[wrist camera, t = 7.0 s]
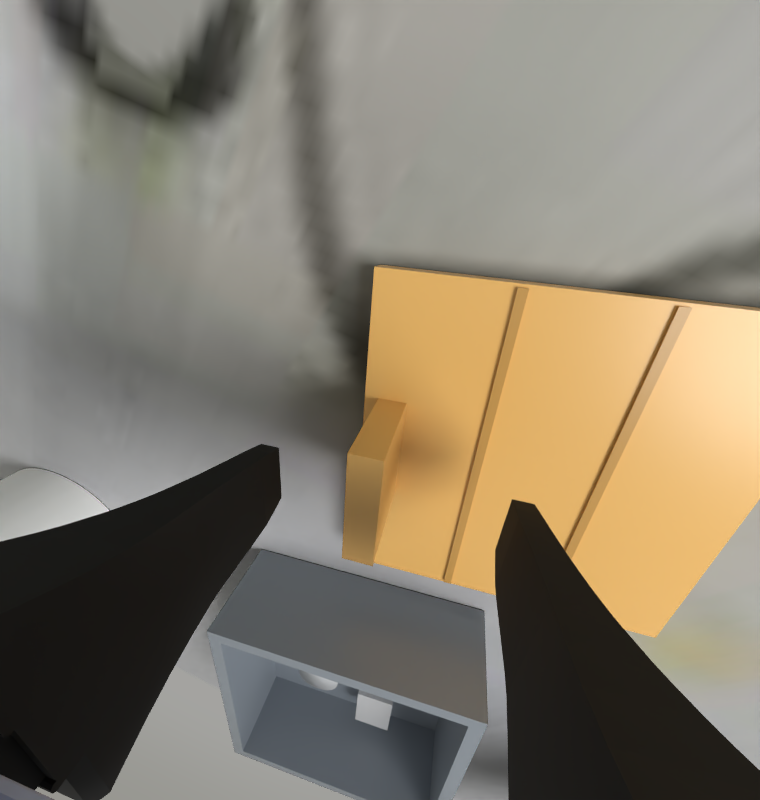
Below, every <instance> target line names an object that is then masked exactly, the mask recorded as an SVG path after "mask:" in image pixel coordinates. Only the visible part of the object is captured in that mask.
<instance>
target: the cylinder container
mask: <svg viewBox="0 0 760 800" xmlns="http://www.w3.org/2000/svg"><path fill="white" fill-rule="evenodd" d="M108 511H109V510H108V509H107V507H106V506H105V505H104V504H103V503H101V502H100V501H99V500H98V499H97V498H96V497H95V496H93V495H92V494H91V493H90V492H88V491H87V490H85V489H84V488H83V487H81V486H80V485H78V484H76V483H75V482H73V481H71V480H69V479H67V478H66V477H64V476H61V475H59V474H56V473H54V472H51V471H47V470H43V469H38V468H27V469H22V470H19V471H17V472H16V473H14V474H12V475H10V476H8V477H6V478H4V479H2V480H0V541H4V540H9V539H13V538H17V537H21V536H25V535H29V534H33V533H37V532H41V531H44V530H48V529H52V528H55V527H59V526H63V525H66V524H69V523H72V522H76V521H79V520H82V519H85V518H88V517H92V516H95V515H98V514H101V513H104V512H108Z"/></svg>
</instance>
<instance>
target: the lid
mask: <svg viewBox="0 0 760 800" xmlns="http://www.w3.org/2000/svg"><path fill="white" fill-rule="evenodd" d="M512 499H514V500H518V501H523V502H527V503H532V504H535V505H536V507H537V508H538V510H539V511H540V513H541V515H542V516H543V518H544V519H545V521H546V522H547V524H548V525H549V527H550V529H551V530H552V532H553V533H554V535H555V536H556V538H557V539H558V541H559V542H560V544H561V545H562V547H563V548H564V550H565V551H566V553H567V554H568V556H569V557H570V559H571V560H572V562H573V563H574V564H575V566H576V567H577V569H578V570H579V572H580V573H581V574H582V576H583V577H584V579H585V580H586V581H587V583H588V584H589V586H590V587H591V588H592V590H593V591H594V592H595V594H596V595H597V596H598V597H599V599H600V600H601V601H602V603H603V604H604V605H605V606H606V608H607V609H608V610H609V612H610V613H611V614H612V615H613V617H614V618H615V619H616V620H617V622H618V623H619V624H620V625H621V626H622V628H623V629H625V630H628V631H632V632H636V633H640V634H643V635H647V636H651V637H655V638H656V637H657V635H658V634H659V633H660V631H661V630H662V629H663V627H664V626H665V625H666V623H667V622H668V621H669V619H670V618H671V617H672V615H673V614H674V613H675V611H676V610H677V609H678V607H679V606H680V605H681V603H682V602H683V601H684V599H685V598H686V597H687V595H688V594H689V593H690V591H691V590H692V589H693V587H694V586H695V584H696V583H697V582H698V580H699V579H700V578H701V576H702V575H703V574H704V572H705V571H706V570H707V568H708V567H709V566H710V564H711V563H712V562H713V560H714V559H715V558H716V556H717V555H718V554H719V552H720V551H721V550H722V548H723V547H724V546H725V544H726V543H727V542H728V540H729V539H730V538H731V536H732V535H733V534H734V532H735V531H736V530H737V528H738V527H739V526H740V524H741V523H742V522H743V520H744V519H745V518H746V516H747V515H748V514H749V512H750V511H751V510H752V508H753V507H754V506H755V504H756V503H757V502H758V500H759V499H760V308H756V307H748V306H739V305H730V304H721V303H713V302H704V301H695V300H686V299H678V298H669V297H660V296H651V295H643V294H634V293H625V292H616V291H608V290H599V289H590V288H581V287H572V286H564V285H555V284H546V283H537V282H529V281H520V280H511V279H502V278H494V277H485V276H476V275H467V274H459V273H450V272H441V271H432V270H424V269H415V268H406V267H397V266H389V265H378V266H375V267H374V277H373V291H372V305H371V319H370V333H369V347H368V360H367V374H366V388H365V402H364V416H363V427H362V428H361V430H360V432H359V434H358V435H357V437H356V439H355V441H354V443H353V444H352V446H351V448H350V450H349V451H348V453H347V470H346V489H345V509H344V528H343V548H342V558H344V559H348V560H351V561H355V562H359V563H363V564H366V565H370V566H373V564H374V563H377V564H381V565H384V566H388V567H392V568H396V569H399V570H403V571H407V572H411V573H414V574H418V575H422V576H426V577H429V578H433V579H437V580H441V581H444V582H446V583H450V584H451V583H452V584H456V585H459V586H463V587H467V588H471V589H474V590H478V591H482V592H486V593H489V594H493V595H496V590H495V549H496V546H497V543H498V540H499V537H500V534H501V531H502V528H503V525H504V522H505V519H506V516H507V513H508V510H509V507H510V504H511V501H512Z"/></svg>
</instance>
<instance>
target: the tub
mask: <svg viewBox="0 0 760 800" xmlns="http://www.w3.org/2000/svg"><path fill="white" fill-rule="evenodd" d="M207 634H208V639H209V643H210V647H211V652H212V656H213V660H214V664H215V669H216V673H217V677H218V682H219V686H220V690H221V695H222V699H223V703H224V708H225V712H226V716H227V721H228V725H229V729H230V733H231V738H232V742H233V746H234V751H235V752H236V753H238V754H241V755H243V756H246V757H249V758H251V759H254V760H256V761H259V762H261V763H264V764H266V765H269V766H272V767H274V768H277V769H279V770H282V771H284V772H287V773H289V774H292V775H294V776H297V777H300V778H302V779H305V780H307V781H310V782H312V783H315V784H317V785H320V786H323V787H325V788H327V789H330V790H333V791H335V792H338V793H340V794H343V795H345V796H348V797H351V798H353V799H356V800H453V798H454V796H455V794H456V791H457V789H458V787H459V785H460V783H461V781H462V779H463V777H464V774H465V772H466V770H467V768H468V766H469V764H470V762H471V760H472V757H473V755H474V753H475V751H476V749H477V747H478V745H479V742H480V740H481V738H482V736H483V734H484V732H485V730H486V728H487V725H488V712H487V680H486V649H485V618H484V611H482V610H479V609H475V608H472V607H468V606H464V605H461V604H457V603H453V602H450V601H446V600H443V599H439V598H435V597H432V596H428V595H425V594H421V593H417V592H414V591H410V590H407V589H403V588H399V587H396V586H392V585H388V584H385V583H381V582H378V581H374V580H370V579H367V578H363V577H360V576H356V575H352V574H349V573H345V572H342V571H338V570H334V569H331V568H327V567H324V566H320V565H316V564H313V563H309V562H305V561H302V560H298V559H295V558H291V557H287V556H284V555H280V554H277V553H273V552H269V551H266V550H261V551H260V553H259V554H258V556H257V557H256V559H255V560H254V562H253V563H252V565H251V566H250V568H249V569H248V571H247V572H246V574H245V575H244V577H243V578H242V580H241V581H240V582H239V584H238V585H237V587H236V588H235V590H234V591H233V593H232V594H231V596H230V597H229V599H228V600H227V602H226V603H225V605H224V606H223V608H222V609H221V611H220V612H219V614H218V615H217V617H216V618H215V620H214V621H213V623H212V624H211V626H210V627H209V629H208V630H207Z"/></svg>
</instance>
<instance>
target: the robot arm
mask: <svg viewBox="0 0 760 800" xmlns="http://www.w3.org/2000/svg"><path fill="white" fill-rule="evenodd" d="M280 499H281V480H280V462H279V448H277V447H272V446H268V445H263V444H260V445H258V446H256V447H254V448H251V449H249V450H247V451H245V452H243V453H241V454H239V455H237V456H235V457H233V458H231V459H229V460H227V461H225V462H223V463H221V464H219V465H217V466H215V467H213V468H211V469H209V470H207V471H205V472H203V473H201V474H199V475H196V476H194V477H192V478H190V479H188V480H185V481H183V482H181V483H179V484H176V485H174V486H172V487H170V488H168V489H165V490H163V491H161V492H158V493H156V494H153V495H151V496H148V497H146V498H143V499H141V500H138V501H136V502H133V503H130V504H127V505H125V506H122V507H119V508H116V509H114V510H111V511H108V512H104V513H101V514H98V515H95V516H92V517H88V518H85V519H82V520H79V521H76V522H72V523H69V524H66V525H63V526H59V527H55V528H52V529H48V530H44V531H41V532H37V533H33V534H29V535H25V536H21V537H17V538H13V539H9V540H4V541H0V800H54V799H52V798H49V797H47V796H45V795H43V794H41V793H39V792H37V791H35V789H36V788H37V787H40V788H42V789H44V790H46V791H48V792H51V793H54V792H56V791H57V792H59V793H61V794H63V795H65V796H68V797H70V798H72V799H74V800H100V799H102V798H103V797H104V796H105V795H107V794H108V793H109V792H110V791H111V789H112V787H113V785H114V783H115V780H116V779H117V777H118V775H119V773H120V771H121V768H122V767H123V765H124V762H125V760H126V759H127V757H128V755H129V753H130V751H131V748H132V747H133V745H134V742H135V740H136V738H137V737H138V735H139V732H140V731H141V729H142V726H143V725H144V723H145V721H146V719H147V717H148V715H149V713H150V711H151V709H152V707H153V705H154V704H155V702H156V700H157V698H158V696H159V694H160V692H161V690H162V689H163V687H164V685H165V683H166V681H167V679H168V677H169V675H170V673H171V672H172V670H173V668H174V666H175V665H176V663H177V661H178V659H179V658H180V656H181V654H182V652H183V650H184V649H185V647H186V645H187V643H188V642H189V640H190V638H191V636H192V635H193V633H194V631H195V629H196V628H197V626H198V624H199V623H200V621H201V619H202V618H203V616H204V614H205V613H206V611H207V609H208V608H209V606H210V604H211V603H212V601H213V600H214V598H215V597H216V595H217V594H218V592H219V591H220V589H221V588H222V586H223V585H224V583H225V582H226V581H227V579H228V578H229V577H230V575H231V574H232V572H233V571H234V570H235V568H236V567H237V565H238V564H239V563H240V561H241V560H242V559H243V557H244V556H245V554H246V553H247V552H248V550H249V549H250V548H251V546H252V545H253V543H254V542H255V541H256V539H257V538H258V536H259V535H260V534H261V532H262V531H263V529H264V528H265V526H266V525H267V523H268V521H269V520H270V518H271V516H272V514H273V512H274V511H275V509H276V507H277V505H278V503H279V501H280ZM495 590H496V600H497V609H498V618H499V626H500V635H501V644H502V653H503V661H504V670H505V681H506V694H507V728H508V785H509V800H760V770H759V769H757V768H756V767H755V766H754V765H753V764H752V763H751V762H750V761H749V760H748V759H747V758H746V757H745V756H744V755H743V754H742V753H741V752H740V751H738V750H737V749H736V748H735V747H734V746H733V745H732V744H731V743H730V742H729V741H728V740H727V739H726V738H725V737H724V736H723V735H722V734H721V733H720V732H719V731H718V730H717V729H716V728H715V727H714V726H713V725H712V724H711V723H710V722H709V721H708V720H707V719H706V718H705V717H704V716H703V715H702V714H701V713H700V712H699V711H698V710H697V709H696V708H695V707H694V706H693V705H692V703H691V702H690V701H689V700H688V699H687V698H686V697H685V696H684V695H683V694H682V693H681V692H680V691H679V690H678V689H677V688H676V687H675V686H674V685H673V684H672V683H671V682H670V681H669V680H668V678H667V677H666V676H665V675H664V674H663V673H662V672H661V671H660V670H659V669H658V668H657V667H656V665H655V664H654V663H653V662H652V661H651V660H650V659H649V658H648V656H647V655H646V654H645V653H644V652H643V651H642V650H641V648H640V647H639V646H638V645H637V644H636V643H635V641H634V640H633V639H632V638H631V637H630V636H629V635H628V633H627V632H626V631H625V630H624V629H623V628H622V626H621V625H620V624H619V623H618V622H617V620H616V619H615V618H614V617H613V615H612V614H611V613H610V612H609V610H608V609H607V608H606V606H605V605H604V604H603V603H602V601H601V600H600V599H599V597H598V596H597V595H596V594H595V592H594V591H593V590H592V588H591V587H590V586H589V584H588V583H587V581H586V580H585V579H584V577H583V576H582V574H581V573H580V572H579V570H578V569H577V567H576V566H575V564H574V563H573V562H572V560H571V559H570V557H569V556H568V554H567V553H566V551H565V550H564V548H563V547H562V545H561V544H560V542H559V541H558V539H557V538H556V536H555V535H554V533H553V532H552V530H551V529H550V527H549V525H548V524H547V522H546V521H545V519H544V518H543V516H542V515H541V513H540V511H539V510H538V508H537V507H536V505H535V504H532V503H527V502H523V501H518V500H514V499H512V501H511V504H510V507H509V510H508V513H507V516H506V519H505V522H504V525H503V528H502V531H501V534H500V537H499V540H498V543H497V546H496V549H495Z"/></svg>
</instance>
